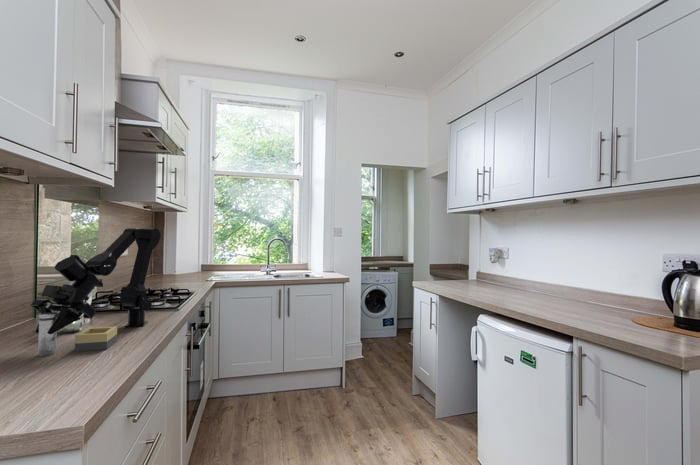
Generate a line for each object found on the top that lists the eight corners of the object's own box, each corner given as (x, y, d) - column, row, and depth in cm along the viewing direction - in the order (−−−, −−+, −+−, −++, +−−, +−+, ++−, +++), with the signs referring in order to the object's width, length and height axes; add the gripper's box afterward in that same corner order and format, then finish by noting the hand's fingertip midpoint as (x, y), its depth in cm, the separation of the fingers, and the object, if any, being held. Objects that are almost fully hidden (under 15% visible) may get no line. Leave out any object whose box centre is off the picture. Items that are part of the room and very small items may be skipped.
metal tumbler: (42, 352, 102) (43, 312, 102) (59, 351, 103) (60, 312, 103) (34, 357, 98) (35, 315, 98) (51, 355, 99) (52, 315, 99)
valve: (62, 330, 124) (62, 298, 125) (84, 328, 127) (84, 297, 127) (54, 335, 118) (55, 301, 118) (77, 333, 121) (78, 300, 121)
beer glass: (65, 323, 133) (66, 286, 133) (86, 320, 139) (87, 284, 139) (74, 326, 130) (75, 287, 130) (94, 322, 136) (95, 285, 136)
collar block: (87, 343, 111) (87, 328, 111) (116, 341, 113) (117, 326, 113) (74, 351, 102) (75, 335, 103) (106, 349, 105) (107, 333, 105)
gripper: (38, 273, 106) (-6, 316, 95) (87, 275, 103) (48, 320, 92) (62, 294, 114) (25, 336, 103) (109, 296, 110) (76, 340, 99)
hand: (42, 333), depth 99 cm, fingers closed on metal tumbler, 4 cm apart
